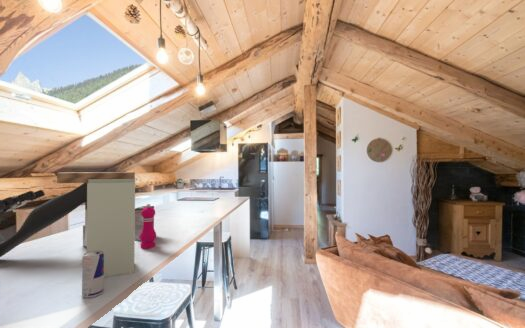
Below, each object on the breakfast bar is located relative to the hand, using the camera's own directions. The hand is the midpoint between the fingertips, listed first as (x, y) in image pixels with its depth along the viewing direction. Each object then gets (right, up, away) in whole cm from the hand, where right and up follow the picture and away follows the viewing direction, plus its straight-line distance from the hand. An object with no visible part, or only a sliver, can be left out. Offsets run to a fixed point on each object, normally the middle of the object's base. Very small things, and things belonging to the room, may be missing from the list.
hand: (38, 192), depth 85 cm
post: (+19, -29, +9) cm, 36 cm away
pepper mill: (+20, -29, +36) cm, 51 cm away
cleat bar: (+15, +3, +7) cm, 17 cm away
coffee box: (+12, -29, +51) cm, 60 cm away
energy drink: (+23, -29, -9) cm, 38 cm away
